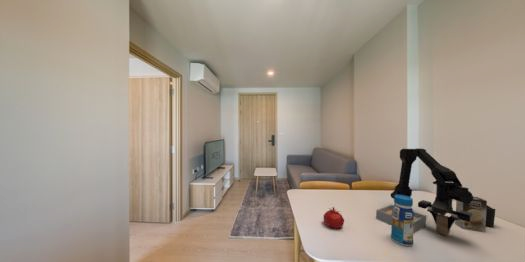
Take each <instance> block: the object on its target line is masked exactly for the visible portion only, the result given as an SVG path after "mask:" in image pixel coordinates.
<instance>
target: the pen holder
mask: <svg viewBox="0 0 525 262" xmlns="http://www.w3.org/2000/svg"><path fill="white" fill-rule="evenodd" d="M495 217H496V208H493V207H491V206H489V205H488V204H487V209H486V226H485V228H493V227H494V226H495V225H494V224H495V220H496V219H495Z"/></svg>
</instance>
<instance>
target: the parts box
mask: <svg viewBox="0 0 525 262" xmlns="http://www.w3.org/2000/svg"><path fill="white" fill-rule="evenodd" d="M393 206H394V204H389V205H386V206H383V207H381V208H377V209H376V210H375V211H376V212H375V213H376V215H375V219H376V220H378V221H381V222H383V223H386V224H388V225H391V226H392V218H391V214H392V207H393ZM413 218H414V220H415V223H414V230H413V232H414V233H416V232H417V231H419V230H421V229H422V228H424V227H426V226H427V215H425V214H422V213H418V212H416V211H414V217H413ZM418 229H419V230H418Z"/></svg>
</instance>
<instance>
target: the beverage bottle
mask: <svg viewBox="0 0 525 262" xmlns="http://www.w3.org/2000/svg"><path fill="white" fill-rule="evenodd" d="M393 203H395V205H394V204H393V205H394V206H393V207H392V214H391V218H392V225H391V230H390V231H391V232H390V239H391V240H392V241H393V242H395V243H397V245H402V246H406V247H411V246H413V245H414V233H413V230H414V223H415V220H414V218H413V217H414V212H415V211H414V210H413V208H412V207H413V205H414V200H413V198H412V196H411V197H408V196H404V195H395V196H394V199H393Z"/></svg>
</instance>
